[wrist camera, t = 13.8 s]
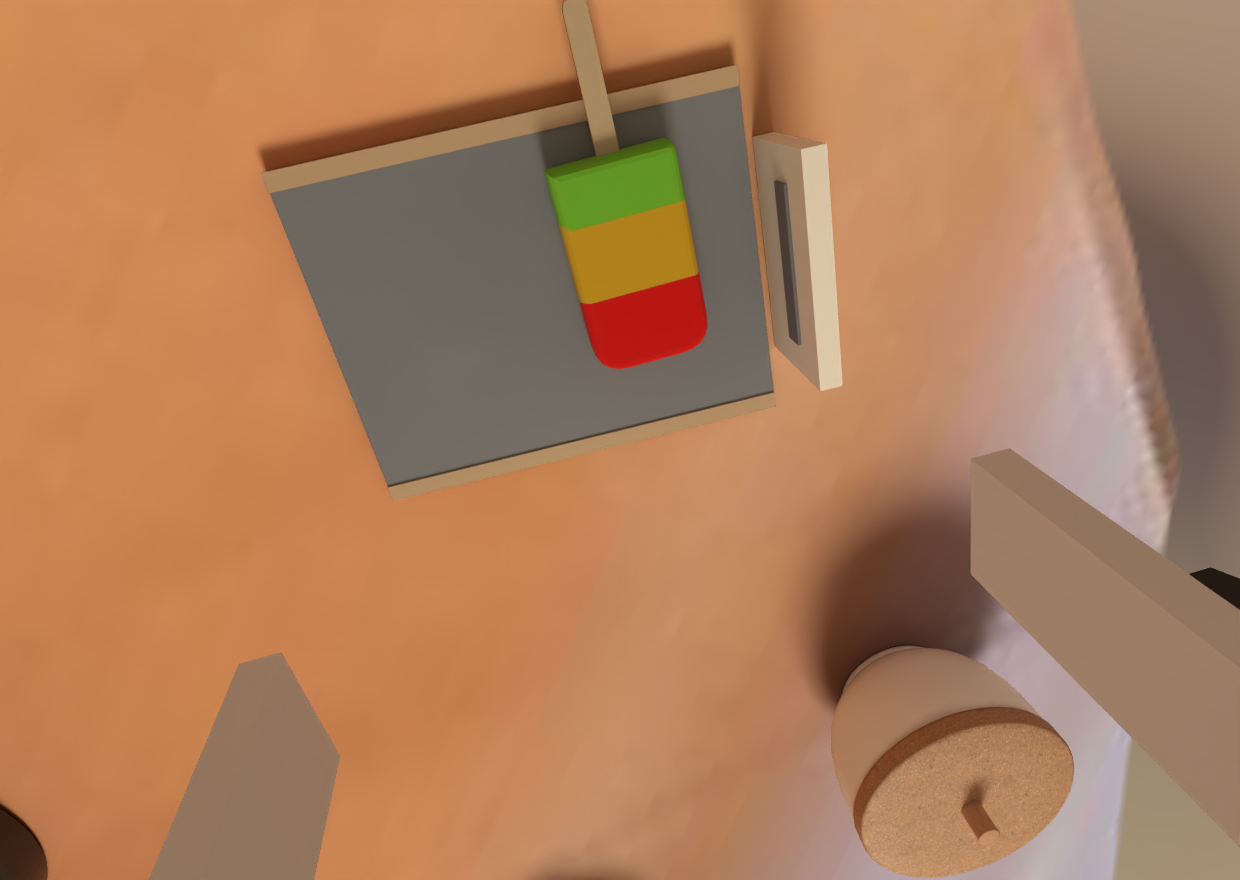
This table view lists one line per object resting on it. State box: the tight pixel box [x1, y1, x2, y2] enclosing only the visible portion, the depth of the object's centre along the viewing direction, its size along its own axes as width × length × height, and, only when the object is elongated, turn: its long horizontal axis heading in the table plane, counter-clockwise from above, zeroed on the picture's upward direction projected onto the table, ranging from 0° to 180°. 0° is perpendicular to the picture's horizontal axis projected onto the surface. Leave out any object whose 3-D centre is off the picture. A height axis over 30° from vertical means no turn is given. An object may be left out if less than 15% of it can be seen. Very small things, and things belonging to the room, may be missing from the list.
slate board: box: [261, 65, 776, 501], centre depth 35 cm, size 20×16×1 cm
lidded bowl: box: [831, 645, 1074, 877], centre depth 45 cm, size 13×13×11 cm
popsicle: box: [544, 0, 708, 369], centre depth 32 cm, size 6×15×2 cm, turn 13°
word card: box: [752, 132, 843, 391], centre depth 33 cm, size 1×10×6 cm, turn 11°
